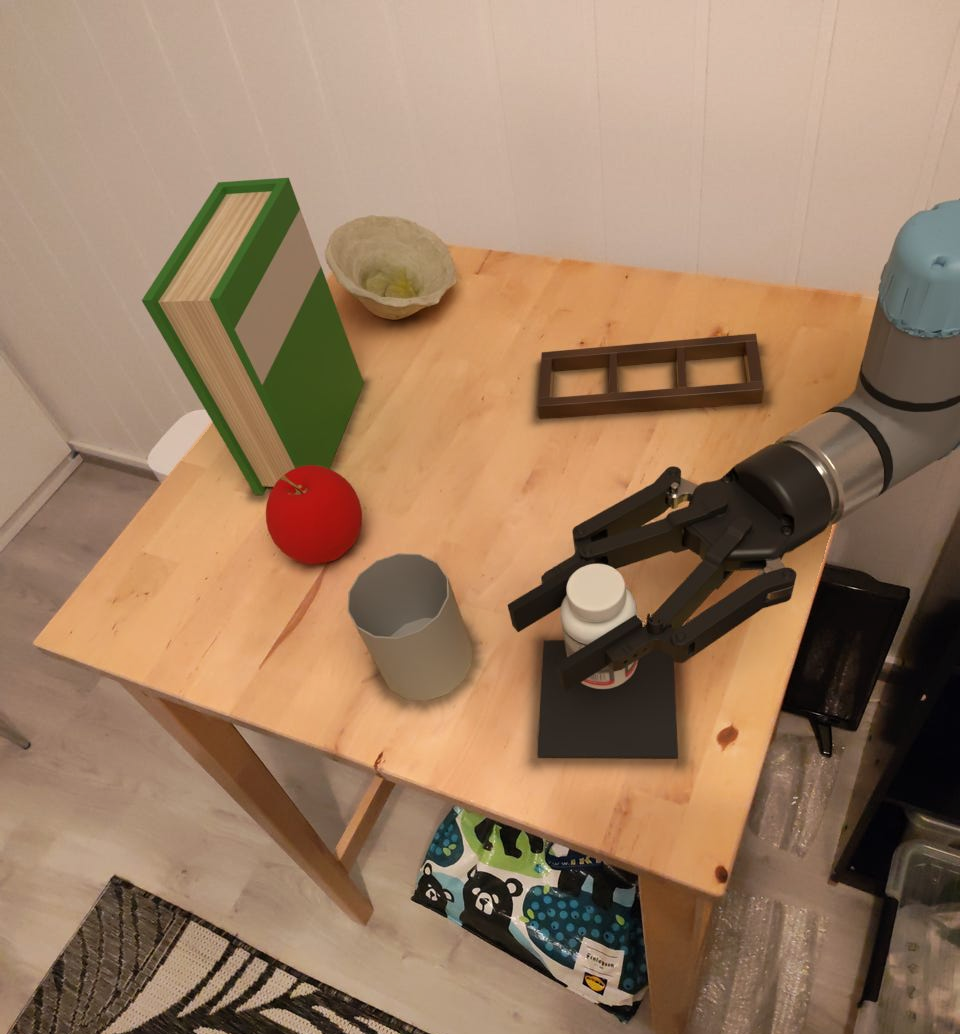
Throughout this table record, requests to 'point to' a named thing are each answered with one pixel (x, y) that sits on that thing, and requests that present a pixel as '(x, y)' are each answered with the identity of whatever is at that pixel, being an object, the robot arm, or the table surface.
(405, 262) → the bowl
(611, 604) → the pill bottle
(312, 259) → the hardback book
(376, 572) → the cup
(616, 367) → the bottle rack
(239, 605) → the table surface
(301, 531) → the fruit
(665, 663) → the mat
